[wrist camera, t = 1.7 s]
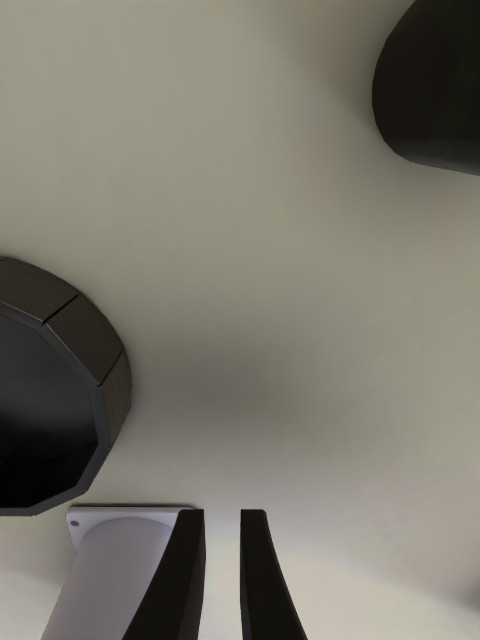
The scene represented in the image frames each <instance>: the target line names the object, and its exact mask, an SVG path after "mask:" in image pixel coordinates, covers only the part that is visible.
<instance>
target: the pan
mask: <svg viewBox="0 0 480 640" xmlns="http://www.w3.org/2000/svg"><path fill="white" fill-rule="evenodd" d="M131 387H132V385H131V372H130V367H129V362H128V358H127V356H126V353H125V350H124V347H123V345H122V343H121V341H120V339H119V337H118V335H117V334H116V332H115V330H114V329H113V327H112V326H111V324H110V323H109V322H108V320H107V319H106V318H105V316H104V315H103V314H102V313H101V312H100V311H99V310H98V308H97V307H96V306H95V305H94V304H93V303H92V302H90V301H89V300H88V299H87V298H86V297H85V296H84V295H83V294H82V293H80V292H79V291H78V290H76V289H75V288H73V287H72V286H71V285H69V284H68V283H67V282H65V281H63V280H61V279H60V278H58V277H56V276H54V275H53V274H51V273H49V272H47V271H44V270H42V269H40V268H38V267H35V266H33V265H30V264H27V263H24V262H21V261H17V260H14V259H9V258H4V257H0V516H33V515H35V516H36V515H38V514H40V513H43V512H45V511H47V510H49V509H51V508H54V507H56V506H58V505H60V504H63V503H65V502H67V501H69V500H71V499H74V498H76V497H78V496H80V495H83V494H84V493H85V492H87V491H88V489H89V487H90V486H91V484H92V482H93V480H94V479H95V477H96V475H97V474H98V472H99V470H100V468H101V467H102V465H103V463H104V461H105V460H106V458H107V456H108V454H109V453H110V451H111V449H112V447H113V445H114V443H115V441H116V438H117V436H118V434H119V432H120V430H121V427H122V425H123V423H124V421H125V418H126V416H127V414H128V412H129V410H130V407H131V406H130V405H131V398H130V397H131Z"/></svg>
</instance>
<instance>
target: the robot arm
mask: <svg viewBox="0 0 480 640" xmlns="http://www.w3.org/2000/svg"><path fill="white" fill-rule="evenodd" d="M65 518H66V522H67V525H68V529H69V532H70V536H71V540H72V543H73V547H74V550H75V554H76V557H75V559H74V561H73V564H72V566H71V569H70V571H69V573H68V576H67V578H66V580H65V583H64V585H63V588H62V590H61V592H60V595H59V597H58V600H57V602H56V604H55V607H54V609H53V611H52V614H51V616H50V619H49V621H48V623H47V626H46V628H45V631H44V633H43V635H42V638H41V640H197V639H198V632H199V625H200V618H201V611H202V604H203V594H204V579H205V564H206V545H205V523H204V509H193V508H190V507H71V508H69V509H68V511H67V513H66V515H65ZM240 607H241V621H242V635H243V640H308V639H307V637H306V634H305V632H304V629H303V627H302V625H301V622H300V620H299V617H298V615H297V612H296V610H295V607H294V604H293V602H292V599H291V596H290V593H289V591H288V588H287V585H286V582H285V580H284V577H283V574H282V571H281V568H280V565H279V562H278V559H277V555H276V552H275V549H274V545H273V542H272V538H271V534H270V530H269V526H268V521H267V515H266V512H265V511H264V510H262V509H241V523H240Z"/></svg>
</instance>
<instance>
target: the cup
mask: <svg viewBox="0 0 480 640" xmlns="http://www.w3.org/2000/svg"><path fill="white" fill-rule="evenodd" d="M372 106H373V111H374V115H375V120H376V124H377V126H378V128H379V131H380V133H381V135H382V137H383V139H384V141H385V142H386V143H387V144H388V145H389V146H390V147H391V148H392V149H393V151H394V152H395V153H397V154H398V155H400V156H402V157H403V158H405V159H407V160H408V161H410V162H414V163H418V164H422V165H426V166H431V167H436V168H442V169H447V170H452V171H457V172H462V173H467V174H472V175H477V176H480V0H415V1H414V3H413V4H412V5H411V6H410V8H409V9H408V10H407V12H406V13H405V14H404V15H403V17H402V18H401V19H400V20H399V22H398V23H397V25H396V26H395V28H394V29H393V31H392V32H391V34H390V35H389V37H388V38H387V40H386V42H385V45H384V47H383V49H382V52H381V54H380V57H379V59H378V61H377V65H376V70H375V75H374V79H373V88H372Z"/></svg>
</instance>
